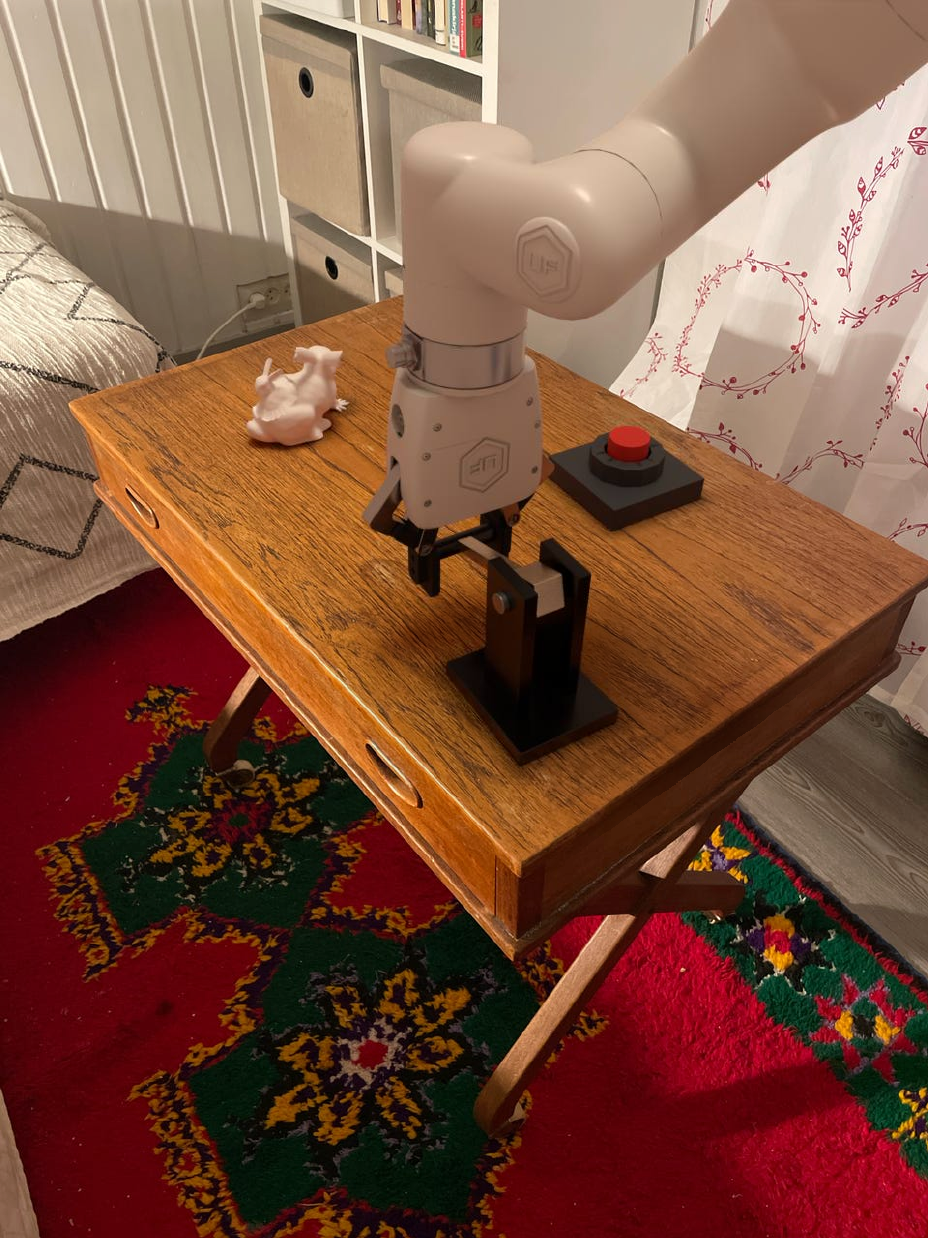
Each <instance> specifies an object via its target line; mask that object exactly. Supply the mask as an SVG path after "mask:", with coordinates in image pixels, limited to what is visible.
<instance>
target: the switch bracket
mask: <svg viewBox="0 0 928 1238" xmlns="http://www.w3.org/2000/svg"><path fill="white" fill-rule="evenodd" d="M538 561H540V562H542V563H543V564H545V565H547V566H549V567H550V568H552V569H554V570H555V571H557V572H559V573H561V574H562V578H563V590H564V602H565V607H564V608H561V609H559V610H556V611H554V612H551V613H549V614H546V615H543V616H541V617H538V618H537V606H538V593H537V592H536V591H535V590H534V589H533V588H532V587H531V586H530V585H529V584H528V583H527V582H526V581H525V580H524V579H523V578H522V577H521V576H520V575H519V574H518V573H517V572H516V571H515V570H514V569H513V568H512V567H511V566H510V565H509V564H508V563H507V562H506V561H505V560H504V559H503V558H502V557H501V556H499V557H496V558H493V559H491V560H488V563H487V570H486V597H485V598H486V599H485V627H484V628H485V629H484V630H485V631H484V632H485V633H484V646H483V647H481V648H477V649H475V650H473V651H470V652H468V653H466V654H463V655H461V656H458V657H455V658H453V659H450V660H447V661H446V662H445V674H446V676H447V677H448V678H449V679H450V681H451V682H452V683H453V684H454V686H456V688H457V689H458V690H459V692H460V693H461V694H462V695H463V697H464V698H465V699H466V700H467V702H468V703H469V704H470V705H471V707H472V708H473V709H474V710H475V711H476V713H477V714H478V715H479V716H480V718H481V719H482V720H483V721H484V722H485V724H486V725H487V727H488V728H489V729H490V731H492V733H493V734H494V735H495V736H496V738H497V739H498V740H499V742H500V743H501V744H502V745H503V746H504V748H505V749H506V750H507V751H508V753H509V754H510V755H511V756H512V757H513V759H514V760H515V762H517V764H518V765H519V766H523V765H525V764H527V763H529V762H532V761H534V760H536V759H538V758H540V757H542V756H545V755H547V754H549V753H551V752H553V751H555V750H557V749H560V748H562V747H564V746H567V745H568V744H570V743H572V742H575V741H578V740H579V739H581V738H583V737H587V736H588V735H589V734H592V733H595V732H597V731H599V730H601V729H603V728H606V727H607V726H610V725H612V724H614V723H616V722H618V716H619V708H618V707H617V706H616V705H615V704H614V703H613V702H612V701H611V700H610V699H609V698H608V697H607V696H606V695H605V694H604V692H602V690H601V689H600V688H599V687H598V686H596V684H595V683H594V682H593V681H592V680H591V679H590V678H589V677H588V676H587V675H586V674H585V673H584V672H583V671H582V669H581V662H582V656H583V655H582V654H583V648H584V647H583V645H584V640H585V639H584V638H585V632H586V631H585V630H586V622H587V614H588V608H589V607H588V605H589V598H590V590H591V581H592V572H590V571H589V570H588V569H587V568H586V567H585V566H584V565H583V564H582V563H581V562H580V561H579V560H578V559H576V558H575V557H574V556H573V555H572V554H571V553H570V552H569V551H568V550H567V549H566V548H565V547H563V546H562V545H561V544H560V543H559V542H558V541H557V540H556V539H555V538H553V537H550V538H547V539H544V540H542V541H540V542H539V555H538Z"/></svg>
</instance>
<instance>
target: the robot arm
mask: <svg viewBox="0 0 928 1238" xmlns="http://www.w3.org/2000/svg"><path fill="white" fill-rule="evenodd" d="M927 64H928V0H728V3H727V4H726V6H725V8H724V9H723V10H722V11H721V13H720V15H719V16H718V18H717V19H716V20H715V22H714V23H713V24H712V25H711V27H710V28H709V29H708V30H707V32H706V33H705V34H704V35H703V36H702V37H701V38H700V39H699V41H698V42H697V43H696V44H695V45H694V47H692V49H690V51H689V52H688V53H687V54H686V55H685V56H684V57H683V58H682V59H681V60H680V61H679V62H678V63H677V65H676V66H674V68H673V69H672V70H670V72H669V73H668V74H667V75H666V76H665V77H663V79H661V81H660V82H658V84H657V85H656V86H655V87H654V88H652V89H651V91H649V92H648V94H646V95H645V96H644V97H643V99H642V100H640V101H639V102H638V103H637V104H636V105H635V106H634V107H633V108H632V109H631V110H630V111H629V112H628V113H627V114H625V116H624V117H623V118H621V120H620V121H618V122H617V123H616V124H615V125H614V126H613V127H612V128H610V129H609V130H608V131H606V132H605V133H603V134H602V135H600V136H598V137H596V138H594V139H592V140H590V141H589V142H587V143H585V144H583V145H582V146H579V147H578V148H576V149H575V150H573V151H571V152H569V153H568V154H566V155H564V156H561V157H557V158H553V159H550V160H547V161H544V162H539V163H538V161H537V154H536V152H535V149H534V147H533V145H532V144H531V142H530V140H529V139H528V138H527V137H525V135H523V134H522V133H521V132H519V131H518V130H515V129H513V128H511V127H507V126H504V125H501V124H498V123H492V122H485V121H473V120H461V121H459V120H458V121H447V122H441V123H437V124H433V125H430V126H426V127H424V128H421V129H420V130H418V131H417V132H415V133H414V134H413V135H412V136H410V138H409V139H408V140H407V142H406V144H405V145H404V147H403V150H402V154H401V160H400V210H401V212H400V214H401V253H402V255H401V256H402V257H401V258H402V296H403V297H402V301H403V303H402V304H403V324H401V325H400V329H401V330H400V332H401V333H400V334H401V335H400V336H401V339H400V340H399V341H397V342H396V344H392V345H389V346H386V348H385V353H384V354H385V359H386V363H387V365H388V368H390V369H391V370H394V369H396V372H395V376H394V380H393V385H392V391H391V395H390V401H389V409H388V418H387V426H386V427H387V428H386V429H387V430H386V446H385V447H386V448H385V472H386V473H385V476H386V478H384V480H383V482H381V485H380V486H379V488H378V489H377V491H376V493H375V494H374V496H373V497H372V498H371V500H370V502H368V505H367V506H366V508H365V509H364V511H363V512H362V514H361V518H362V521H364V522H365V524H366V525H367V526H368V527H369V529H371V530H372V531H374V532H376V533H379V534H382V535H385V536H386V537H391V538H393V539H394V540H395V541H397V542H398V543H400V544H402V545H403V546H406V547H407V572H408V576H409V577H410V579H411V581H412V582H413V583H414V584H415V585H416V586H418V585H419V586H420V587H421V588H422V589H423V590H424V592H425V593H426V594H427V595H428V596H429V598H431V599H432V598H435V597H437V596H439V595H440V593H441V560H440V553H439V552H438V551H437V549H436V548H435V547H434V544H435V540H437V537H438V533H439V531H440V528H442V527H446V526H449V525H452V524H455V523H458V522H462V521H465V520H468V519H471V518H474V517H477V516H479V525H482V524H485V523H490V524H491V525H492V526H493V528H494V530H495V533H496V539H495V541H493V542H490V543H488V544H485V545H487V546H488V547H490V548H492V549H493V550H495V551H497V552H498V553H500V554H502V555H503V556H505V557H507V558H508V559H510V553H511V551H512V540H513V539H512V538H513V527H515V526H517V525H518V524H519V523H520V521H521V518H522V515H521V512H522V510H523V509H524V508H525V506H526V505H527V504H528V503H529V502H530V501H531V499H532V498H533V497H534V496H535V494H536V491H537V490H538V488H539V487H540V486H541V485H542V484H543V483H544V482H545V481H546V480H547V479H548V478H549V475H550V474H551V473H552V472H553V471H554V464H553V463H552V462H551V461H550V460H549V459H548V456H547V455H546V454H544V452H543V446H544V445H543V442H544V437H543V436H544V435H543V409H542V399H541V391H540V383H539V378H538V372H537V366H536V363H535V360H534V359H533V358H531V357H530V356H529V355H528V354H526V347H527V334H528V333H527V332H528V317H529V309H530V310H531V311H533V312H535V313H537V314H539V315H542V316H545V317H549V318H552V319H556V320H559V321H569V322H570V321H571V322H573V321H582V320H587V319H590V318H593V317H595V316H598V315H600V314H601V313H603V312H605V311H606V310H608V309H609V308H611V307H613V305H615V304H616V303H618V301H619V300H620V299H621V298H622V297H624V296H625V295H626V294H627V293H629V291H631V290H632V289H633V288H635V286H636V285H638V284H639V283H641V281H642V280H643V279H644V278H645V277H646V276H648V274H649V273H651V272H652V271H654V269H655V268H656V267H657V266H658V265H659V264H661V263H662V262H663V261H664V260H665V259H667V258H668V257H669V256H671V255H672V254H673V253H674V252H675V251H677V250H678V249H679V248H680V247H682V245H684V244H685V243H686V242H687V241H688V240H689V239H690V238H692V236H694V235H695V234H696V233H697V232H699V231H700V230H701V229H702V228H704V226H706V225H707V224H708V223H709V222H710V221H711V220H713V219H714V218H715V217H716V216H718V215H719V214H720V213H721V212H723V211H724V210H725V209H726V208H727V207H729V206H730V205H731V204H732V203H734V202H735V201H736V200H737V199H738V198H739V197H741V196H742V195H743V194H744V193H746V192H747V191H748V190H750V188H752V187H753V186H754V185H756V183H758V182H759V181H761V180H762V179H763V178H764V177H765V176H767V175H768V174H769V173H770V172H771V171H773V170H774V169H775V168H777V167H778V166H779V165H780V164H782V163H783V162H784V161H785V160H787V159H788V158H789V157H790V156H792V155H793V154H794V153H796V152H798V150H800V149H801V148H803V147H804V146H805V145H806V144H808V143H809V142H810V141H812V140H813V139H815V138H816V137H818V136H820V135H821V134H822V133H823V134H824V132H827V131H829V130H831V129H833V128H837V127H840V126H843V125H845V124H848V123H850V122H852V121H853V120H856V119H857V118H858V117H860V116H861V115H864V114H865V112H867V111H868V110H870V109H871V108H873V107H874V106H875V105H877V104H878V103H879V102H881V101H882V100H883V99H885V98H886V97H887V96H889V95H890V94H891V93H892V92H894V91H895V90H896V89H897V88H899V87H900V86H901V85H902V84H904V83H905V82H906V81H907V80H908V79H910V77H912V76H913V75H914V74H916V73H917V72H918V71H919V70H921V69H922V68H924V66H925V65H927ZM401 503H403V508H404V514H403V517H401V516H400V515H398V514H396V513H395V512H396V510H397V509H398V507H399V505H400V504H401Z"/></svg>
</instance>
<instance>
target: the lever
mask: <svg viewBox="0 0 928 1238" xmlns="http://www.w3.org/2000/svg"><path fill="white" fill-rule="evenodd" d="M495 539H496V533H495V530H494V528H493V526H492V525H491V524H490V523H485V524H482V525H480V524H479V525H477V526H474V527H471V528H468V529H464V530H462V531H459V532H457V533H453V534H449V535H447V536H444V537H442V538H439V539H436V540H435V544H434V547H435V548H436V549H437V551H438V552H439V553H440V561H441V560H444V559H447V558H450V557H454V556H456V555H459V554H461V555H463V556H464V557H465V558H467V559H469V560H470V561H472V562H474V563H475V564H477V565H478V566H480V567H481V568H483V569H485V570H486V571H487V563H488V560H491V559H493V558H496V557H499V556H501V557H502V558H503V559H504V560H505V561H506V562H507V563H508V564H509V565H510V566H511V567H512V568H513V569H514V570H515V571H516V572H517V573H518V574H519V575H520V576H521V577H522V578H523V579H524V580H525V581H526V582H527V583H528V584H529V585H530V586H531V587H532V588H533V589H534V590H535V591H536V592H537V593H538V606H537V618H538V617H541V616H543V615H546V614H549V613H551V612H554V611H556V610H559V609H561V608H564V607H565V602H564V590H563V578H562V574H561V573H559V572H557V571H555V570H554V569H552V568H550V567H549V566H547V565H545V564H543V563H542V562H540V561H539V560H536V561H532V562H531V563H527V564H525V565H523V566H522V565H520V564H518V563H517V562H515V561H513V560H512V559H510V558H509V559H508V558H507V557H505V556H503V555H502V554H500V553H498V552H497V551H495V550H493V549H492V548H490V547H488V546H487V545H485V544H488V543H490V542H493V541H495Z"/></svg>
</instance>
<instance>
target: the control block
mask: <svg viewBox="0 0 928 1238" xmlns="http://www.w3.org/2000/svg"><path fill="white" fill-rule="evenodd" d="M610 432H611V431H609V432H605V433H602V434H599V435H597V437H596V438H595V439H594V440H593V441H590V442H587V443H584V444H581V445H577V446H574V447H571V448H568V449H565V450H562V451H559V452H556V453H552V454H550V455H549V454H548V456H547V458H548V459H549V460H550V461H551V462H552V463H553V464H554V471H553V472H552V473H551V474H550V475H549V477H548V478H549V479H550V480H551V481H553V482H554V483H555V484H556V485H557V486H558V487H559V488H561V489H562V490H563V491H564V492H565V493H566V494H567V495H569V496H570V497H571V498H572V499H573V500H575V502H577V503H578V504H579V505H581V506H582V507H583V508H584V509H585V510H586V511H587V512H588V513H590V515H592V516H593V517H595V518H596V519H597V521H599V522H601V524H603V526H605V527H606V528H607V529H608V530H609V531H610V532H614V531H616V530H619V529H622V528H624V527H627V526H630V525H632V524H635V523H638V522H641V521H643V520H646V519H648V518H652V517H654V516H656V515H659V514H662V513H665V512H668V511H670V510H673V509H676V508H678V507H682V506H684V505H687V504H690V503H692V502H695V501H697V500H700V499H701V497H702V492H703V488H704V483H705V477H703V475H701V474H699V473H698V472H696V471H695V470H694V469H692V467H690V466H689V465H687V464H686V463H684V462H683V461H681V460H680V459H679V458H677V457H676V456H674V454H672V453H670V452H669V451H668V450H666V449H665V448H664V445H663V444H662V443H661V442H660V441H658V440H657V439H656V438H654V437H652V435H650V443H649V450H648V456H647V458H646V459H645V460H643V461H640V462H622V461H619V460H615V459H613V458H611V457H610V456H609V455H608V453H607V448H608V440H609V433H610Z"/></svg>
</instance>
